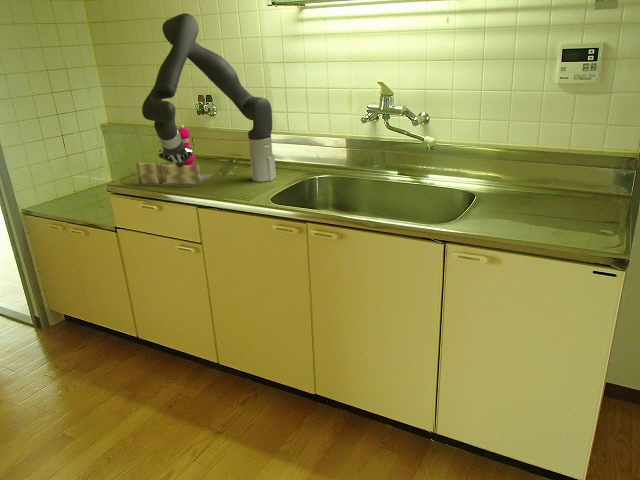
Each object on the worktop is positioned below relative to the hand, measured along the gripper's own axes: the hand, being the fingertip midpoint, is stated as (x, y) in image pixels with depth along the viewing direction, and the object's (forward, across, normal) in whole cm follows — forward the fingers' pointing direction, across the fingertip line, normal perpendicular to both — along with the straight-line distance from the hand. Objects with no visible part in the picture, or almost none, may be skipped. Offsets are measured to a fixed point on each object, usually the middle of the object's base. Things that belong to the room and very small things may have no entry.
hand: (180, 165), depth 211 cm
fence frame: (+19, +16, -4) cm, 25 cm away
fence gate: (+15, +3, -1) cm, 15 cm away
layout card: (+22, +7, -7) cm, 24 cm away
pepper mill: (+37, +5, -22) cm, 44 cm away
